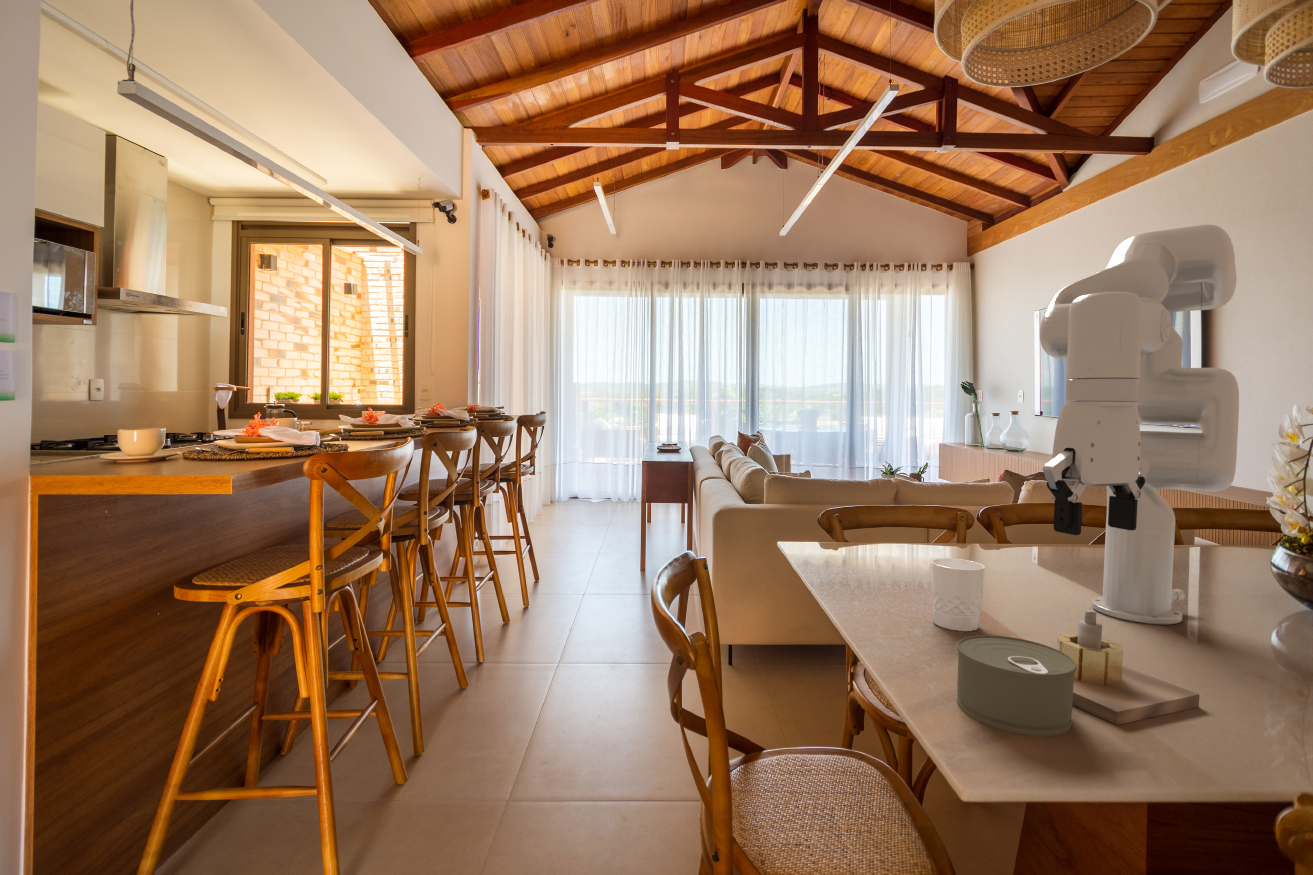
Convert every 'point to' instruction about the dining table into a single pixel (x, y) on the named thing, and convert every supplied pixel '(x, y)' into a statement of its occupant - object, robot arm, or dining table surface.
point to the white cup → (957, 593)
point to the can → (1015, 685)
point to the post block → (1126, 688)
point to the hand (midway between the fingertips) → (1094, 530)
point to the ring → (1093, 660)
